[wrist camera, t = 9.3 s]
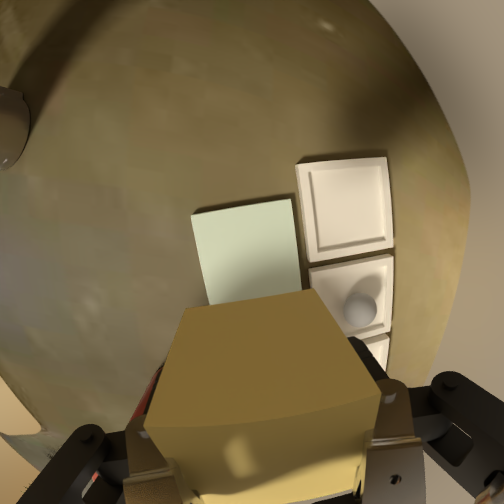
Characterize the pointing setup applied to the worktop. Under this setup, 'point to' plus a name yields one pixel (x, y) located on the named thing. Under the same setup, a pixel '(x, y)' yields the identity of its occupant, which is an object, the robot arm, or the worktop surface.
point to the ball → (360, 310)
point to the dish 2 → (357, 290)
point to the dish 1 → (345, 207)
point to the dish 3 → (378, 348)
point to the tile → (248, 251)
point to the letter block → (263, 401)
